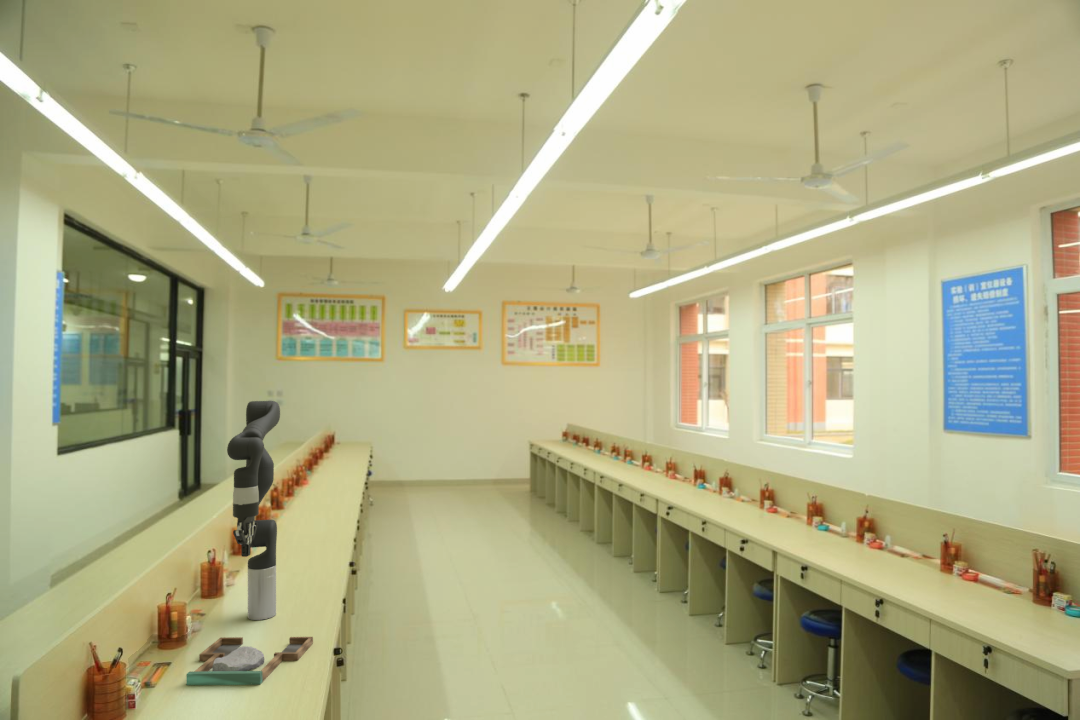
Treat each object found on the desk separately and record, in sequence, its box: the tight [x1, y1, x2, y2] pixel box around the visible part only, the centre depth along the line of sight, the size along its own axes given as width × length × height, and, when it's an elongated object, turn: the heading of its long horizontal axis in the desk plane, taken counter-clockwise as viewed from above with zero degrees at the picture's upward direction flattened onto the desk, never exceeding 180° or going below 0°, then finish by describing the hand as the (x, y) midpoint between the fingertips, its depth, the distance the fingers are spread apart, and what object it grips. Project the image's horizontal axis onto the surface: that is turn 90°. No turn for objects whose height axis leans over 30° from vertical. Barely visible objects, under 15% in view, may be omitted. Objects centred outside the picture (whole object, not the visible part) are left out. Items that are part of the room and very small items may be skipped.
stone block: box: [211, 645, 266, 671], centre depth 194 cm, size 12×5×10 cm
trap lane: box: [186, 636, 314, 686], centre depth 197 cm, size 28×29×3 cm
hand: (245, 556), depth 213 cm, fingers closed
